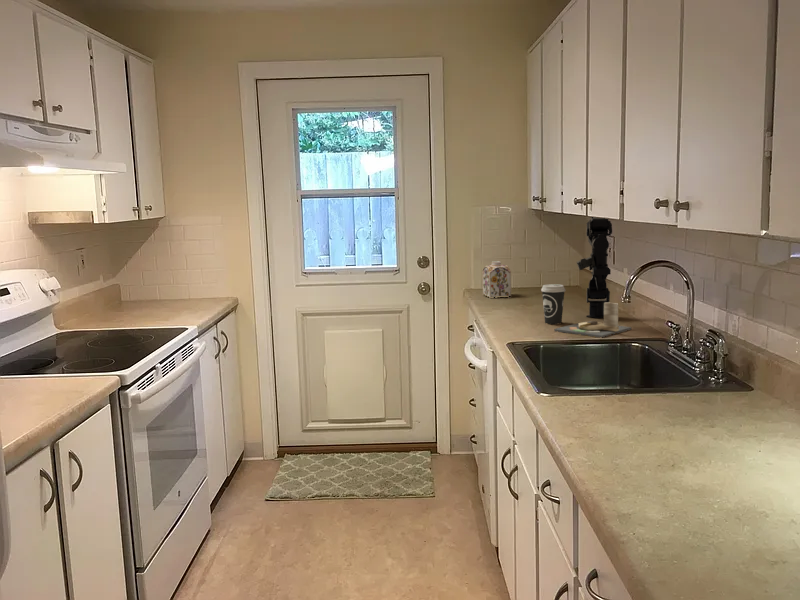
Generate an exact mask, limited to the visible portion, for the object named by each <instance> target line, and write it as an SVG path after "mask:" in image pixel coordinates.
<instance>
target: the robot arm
mask: <svg viewBox="0 0 800 600" xmlns="http://www.w3.org/2000/svg"><path fill="white" fill-rule="evenodd" d="M605 218H606V217H604V218H597V217H590V219H589V221H588V222H587V223H586V233H585V234H586V235H585V236H586V237H587V240H588V241H587V242H588V243H589V245H590V246H591V253H590V256H588V257H587V258H585V257H583V258H581V259H580V260H578V261H576V266H577V268H578V270H579V271H583V270H584V269H586V268H588V270H589V271H591V272H590V274H591V279H590V280H589V282H588V287H586V303H588V304H589V309H588V310H589V314H588V315H586V318H595V319H602V318H603V319H604V303H605V302H609V303H610V295H611V291H610V290H609V287H607V285H608V284H607V281H606V279H607V277H608V275H611V270H612V269H611V268H609V264H608V256H609V253H608V249H609V247H610V243H609V242H610V241H608V237H610V236H612V234H613V223H612V221H611V220H609V218H608V219H605Z"/></svg>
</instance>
